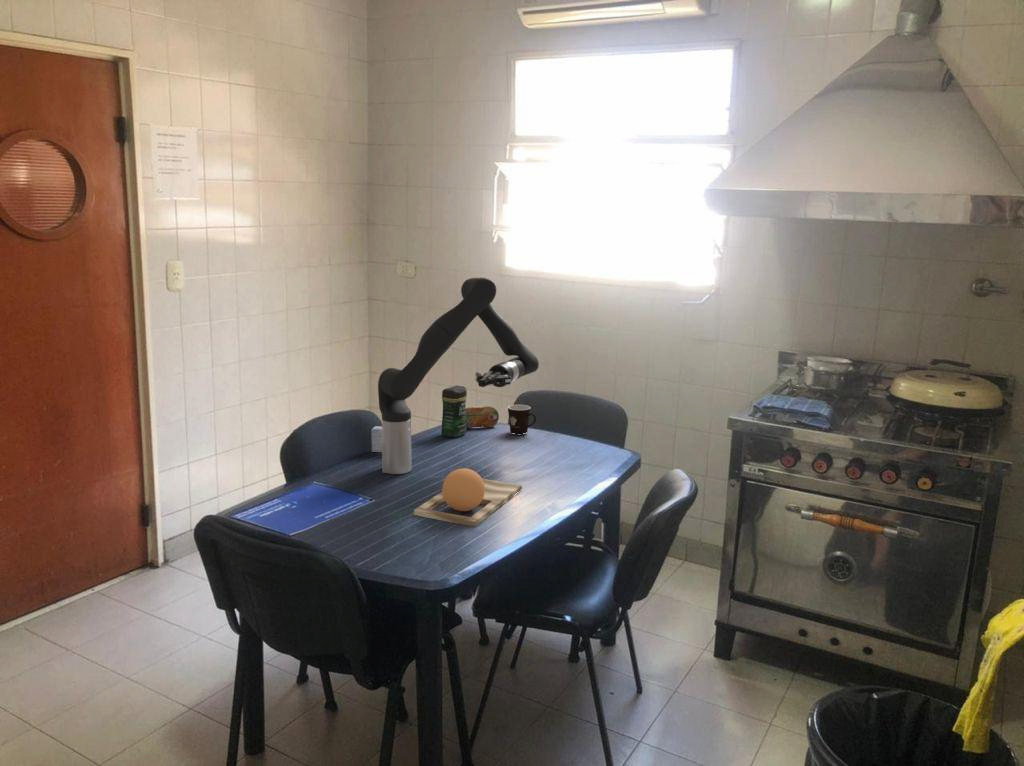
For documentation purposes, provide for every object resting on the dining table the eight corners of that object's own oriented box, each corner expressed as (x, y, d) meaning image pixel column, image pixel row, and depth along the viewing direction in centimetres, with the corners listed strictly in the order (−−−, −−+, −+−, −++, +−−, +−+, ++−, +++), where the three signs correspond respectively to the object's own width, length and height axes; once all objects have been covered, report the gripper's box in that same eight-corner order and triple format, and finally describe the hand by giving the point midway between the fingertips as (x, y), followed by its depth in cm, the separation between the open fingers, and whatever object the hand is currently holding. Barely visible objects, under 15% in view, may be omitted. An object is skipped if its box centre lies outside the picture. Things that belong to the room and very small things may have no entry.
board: (466, 480, 252) (466, 476, 252) (521, 489, 245) (522, 485, 245) (413, 515, 224) (413, 509, 223) (475, 526, 216) (475, 521, 216)
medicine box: (397, 450, 282) (396, 426, 280) (394, 454, 277) (393, 430, 276) (375, 449, 283) (374, 425, 281) (371, 453, 278) (371, 429, 276)
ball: (471, 474, 237) (459, 514, 233) (440, 461, 229) (428, 502, 226) (498, 477, 228) (486, 518, 225) (467, 463, 221) (455, 505, 217)
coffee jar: (456, 439, 296) (456, 390, 292) (438, 436, 300) (438, 387, 296) (470, 433, 304) (470, 385, 300) (452, 430, 308) (452, 383, 304)
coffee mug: (503, 431, 308) (504, 405, 306) (524, 428, 312) (524, 403, 310) (516, 439, 298) (517, 413, 296) (537, 436, 301) (538, 411, 299)
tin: (460, 429, 309) (461, 408, 308) (459, 427, 312) (459, 406, 311) (498, 427, 313) (499, 406, 312) (496, 425, 316) (497, 404, 315)
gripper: (486, 360, 268) (462, 369, 253) (522, 364, 263) (500, 374, 248) (485, 382, 270) (462, 393, 254) (522, 386, 265) (500, 397, 249)
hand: (481, 383), depth 251 cm, fingers closed
